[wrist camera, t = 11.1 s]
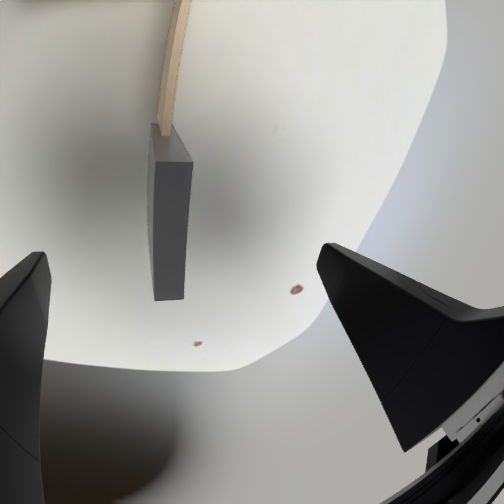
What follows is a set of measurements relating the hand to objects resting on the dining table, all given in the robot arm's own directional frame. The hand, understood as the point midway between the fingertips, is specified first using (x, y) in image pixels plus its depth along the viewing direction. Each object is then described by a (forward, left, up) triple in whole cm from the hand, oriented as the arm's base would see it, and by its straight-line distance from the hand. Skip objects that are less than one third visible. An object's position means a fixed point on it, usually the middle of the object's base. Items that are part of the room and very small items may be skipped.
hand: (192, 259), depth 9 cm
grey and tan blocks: (0, +4, -13) cm, 13 cm away
